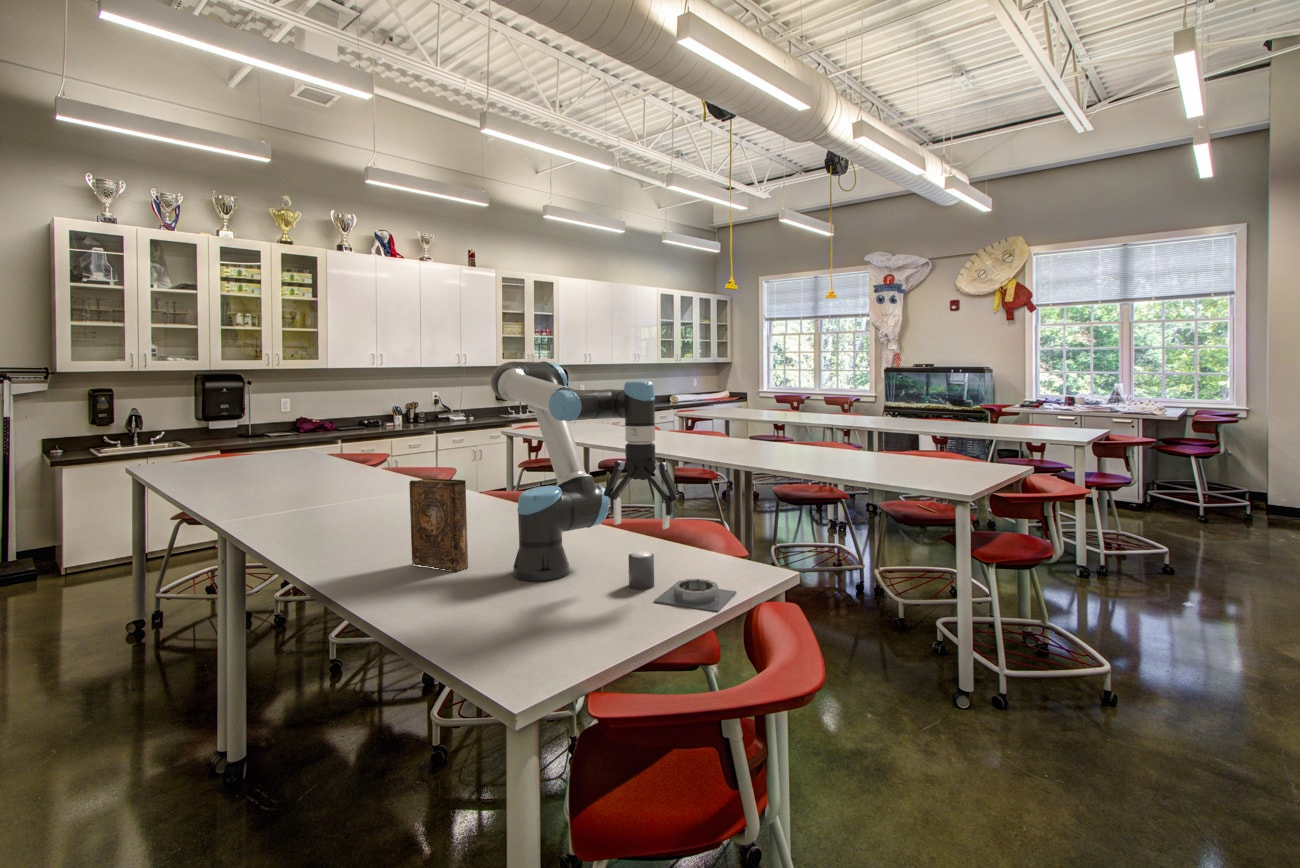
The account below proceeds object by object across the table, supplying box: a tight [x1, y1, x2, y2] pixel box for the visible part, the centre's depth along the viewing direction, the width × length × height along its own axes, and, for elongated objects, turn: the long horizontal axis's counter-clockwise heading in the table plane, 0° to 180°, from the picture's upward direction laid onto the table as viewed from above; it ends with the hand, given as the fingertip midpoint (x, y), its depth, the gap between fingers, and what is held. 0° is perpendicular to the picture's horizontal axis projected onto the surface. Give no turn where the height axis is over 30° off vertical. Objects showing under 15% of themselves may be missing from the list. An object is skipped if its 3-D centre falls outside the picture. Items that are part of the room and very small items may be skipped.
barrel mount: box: [653, 578, 738, 613], centre depth 152 cm, size 16×14×3 cm
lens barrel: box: [628, 551, 655, 591], centre depth 161 cm, size 6×6×8 cm
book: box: [409, 477, 469, 572], centre depth 179 cm, size 16×6×25 cm, turn 68°
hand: (641, 526), depth 160 cm, fingers open, 13 cm apart
